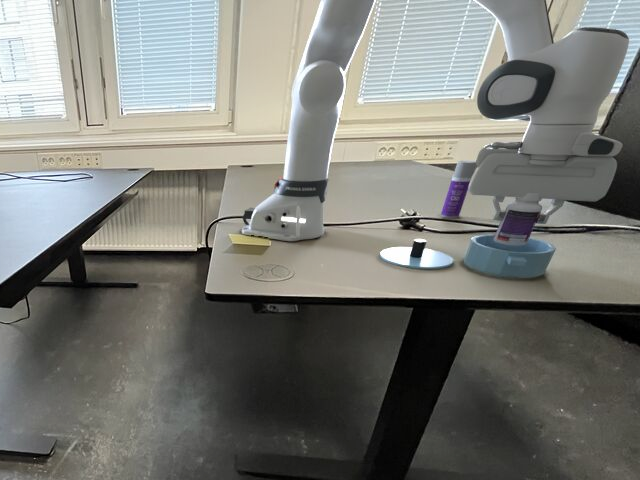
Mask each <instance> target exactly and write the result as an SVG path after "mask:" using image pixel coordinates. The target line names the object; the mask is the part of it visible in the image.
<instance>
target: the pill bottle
mask: <svg viewBox="0 0 640 480" xmlns="http://www.w3.org/2000/svg"><path fill="white" fill-rule="evenodd" d="M514 199H515V200H514V201H511V202H509V203H508V204H507V205H506V208H505V209H504V210H505V211H506V213H505V216H503V220H502V221H500V222H499V223H498V226H497V229H496V232H495V237H494V241H495V242H497V243H500V244H503V245H510V246H522V245H525V244H526V243H527V241H528V239H529V238H531V235H532V232H533V230H534V228H535V226H536V224H537V223H536V222H537V219H538V217H539V215H540V213H542V211H543V205H542V204H540V203H539V202H542V199H540V198H539V194H538V193H527V194H526V195H525V196H524V197H514Z"/></svg>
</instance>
